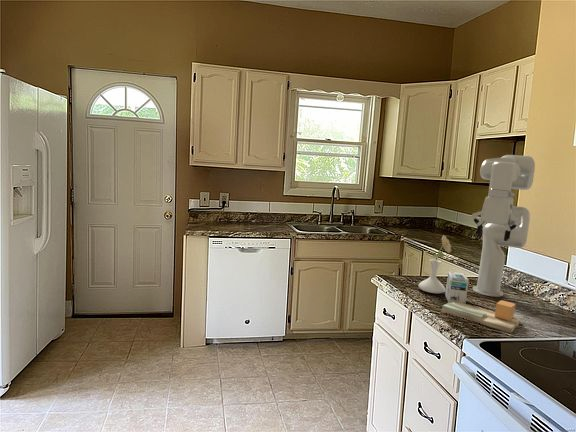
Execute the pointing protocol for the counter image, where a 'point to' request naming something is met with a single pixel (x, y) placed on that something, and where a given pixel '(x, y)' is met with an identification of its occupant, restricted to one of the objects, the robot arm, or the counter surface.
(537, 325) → the counter surface
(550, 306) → the counter surface
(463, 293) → the light bulb box
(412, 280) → the counter surface
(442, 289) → the flower in vase
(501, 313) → the stub
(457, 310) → the board
